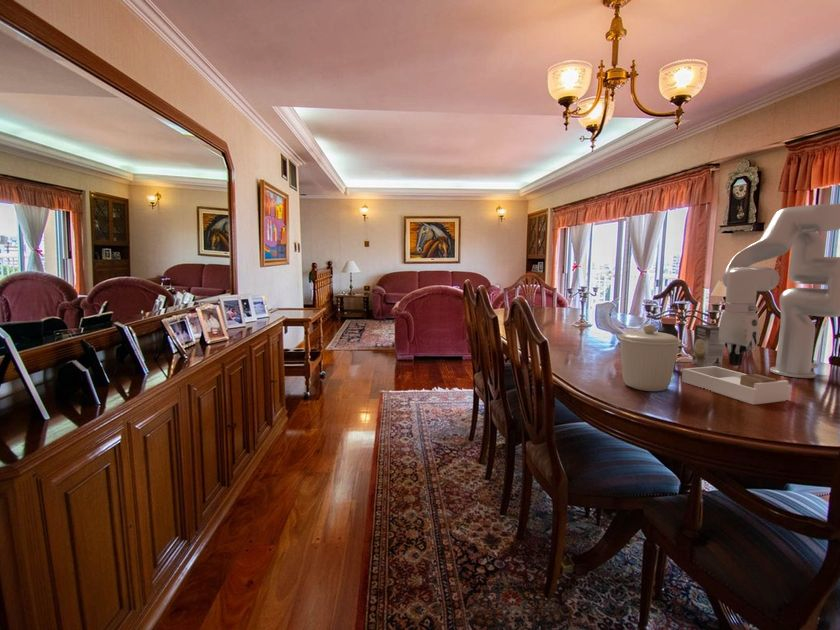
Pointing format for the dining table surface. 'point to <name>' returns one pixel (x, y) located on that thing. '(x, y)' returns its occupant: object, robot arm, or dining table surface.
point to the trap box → (736, 385)
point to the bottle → (669, 327)
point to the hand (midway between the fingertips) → (735, 364)
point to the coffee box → (707, 346)
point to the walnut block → (754, 379)
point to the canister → (648, 358)
